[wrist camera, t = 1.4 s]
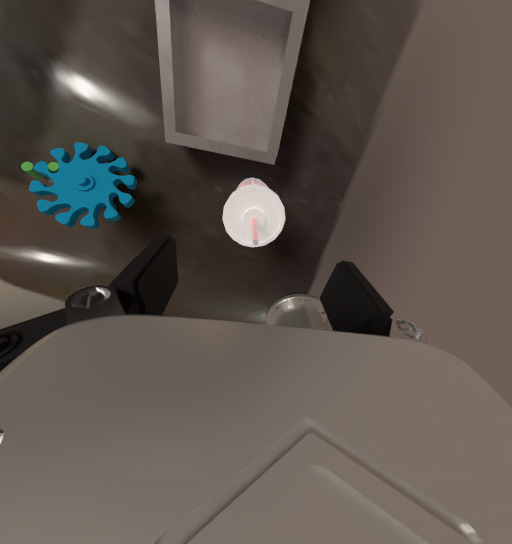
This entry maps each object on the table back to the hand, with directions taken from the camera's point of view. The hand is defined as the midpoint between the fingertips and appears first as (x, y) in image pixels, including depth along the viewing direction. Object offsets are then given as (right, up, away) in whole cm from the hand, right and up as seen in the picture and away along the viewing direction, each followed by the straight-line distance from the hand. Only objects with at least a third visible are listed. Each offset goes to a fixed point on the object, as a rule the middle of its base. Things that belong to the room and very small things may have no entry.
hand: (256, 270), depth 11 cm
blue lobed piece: (-19, +12, +13) cm, 26 cm away
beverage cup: (-1, +10, +15) cm, 18 cm away
